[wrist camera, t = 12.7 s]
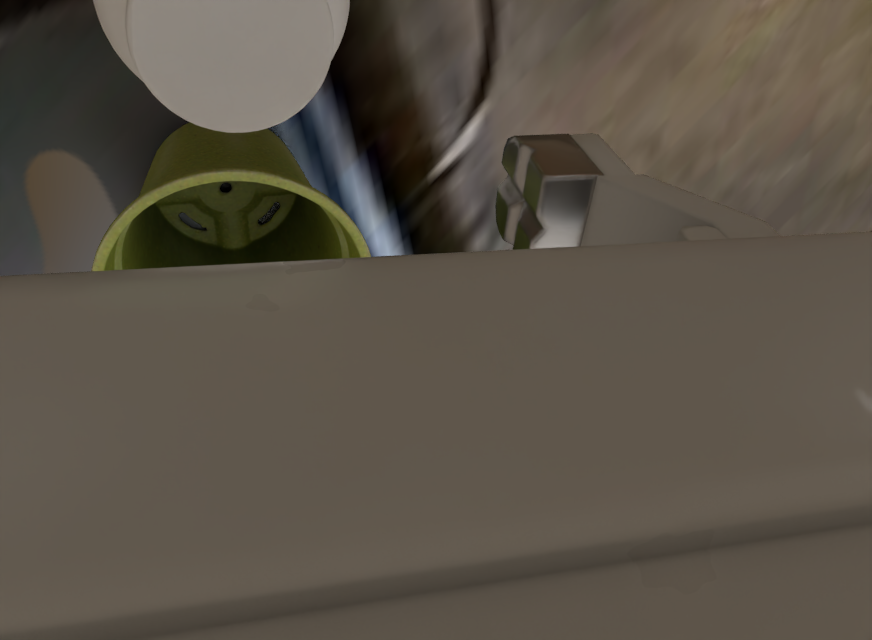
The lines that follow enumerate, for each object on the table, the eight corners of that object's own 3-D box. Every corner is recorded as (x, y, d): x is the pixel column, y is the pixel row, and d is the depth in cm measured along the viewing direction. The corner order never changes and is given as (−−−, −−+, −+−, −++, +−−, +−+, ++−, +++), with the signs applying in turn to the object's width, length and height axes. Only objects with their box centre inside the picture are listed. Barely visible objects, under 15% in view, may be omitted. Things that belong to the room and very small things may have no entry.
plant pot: (194, 21, 30) (199, 113, 24) (380, 160, 36) (427, 267, 29) (61, 201, 33) (32, 329, 26) (252, 305, 38) (267, 433, 32)
